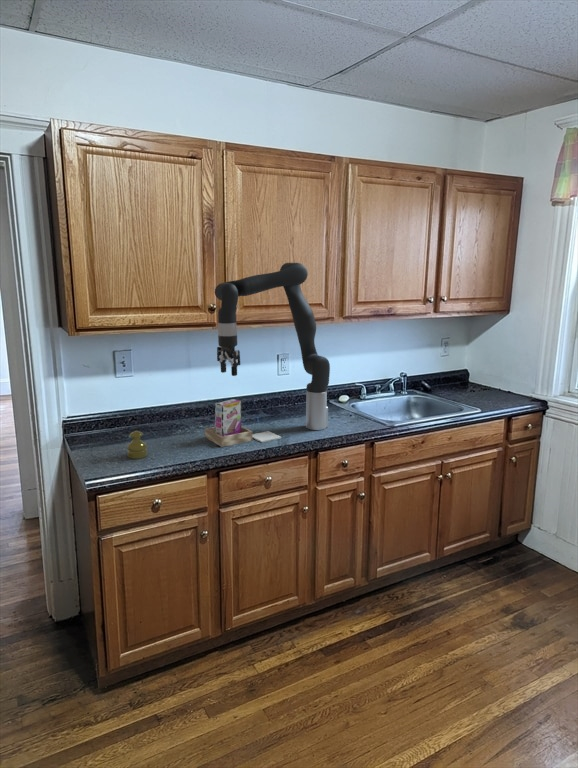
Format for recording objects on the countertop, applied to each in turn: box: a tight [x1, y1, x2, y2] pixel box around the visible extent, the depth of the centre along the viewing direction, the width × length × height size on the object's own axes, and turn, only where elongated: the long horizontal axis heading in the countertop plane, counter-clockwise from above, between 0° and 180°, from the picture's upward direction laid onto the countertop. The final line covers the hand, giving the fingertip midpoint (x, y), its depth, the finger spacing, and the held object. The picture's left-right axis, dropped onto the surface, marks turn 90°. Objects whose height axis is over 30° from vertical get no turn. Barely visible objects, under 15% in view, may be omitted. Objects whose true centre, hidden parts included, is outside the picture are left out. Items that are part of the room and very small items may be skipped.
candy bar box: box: [214, 398, 242, 437], centre depth 222 cm, size 11×5×16 cm, turn 141°
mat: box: [252, 430, 282, 443], centre depth 227 cm, size 10×10×1 cm
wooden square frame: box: [204, 425, 253, 448], centre depth 224 cm, size 15×15×4 cm
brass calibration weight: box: [126, 430, 148, 460], centre depth 203 cm, size 7×7×10 cm
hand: (228, 373), depth 213 cm, fingers open, 8 cm apart
